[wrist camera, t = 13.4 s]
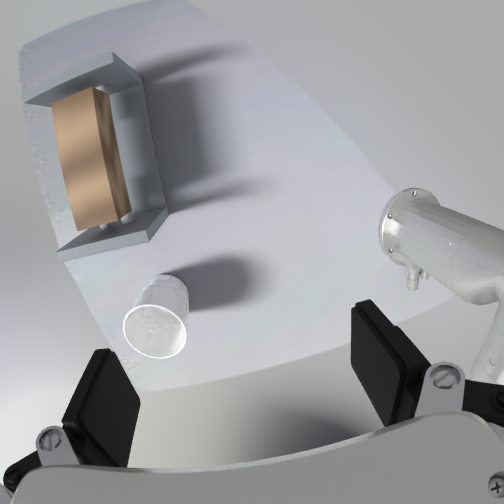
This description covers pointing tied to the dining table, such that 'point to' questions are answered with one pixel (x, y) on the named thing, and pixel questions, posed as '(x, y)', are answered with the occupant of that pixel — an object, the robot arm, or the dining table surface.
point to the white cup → (159, 318)
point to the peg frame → (130, 149)
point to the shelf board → (90, 158)
